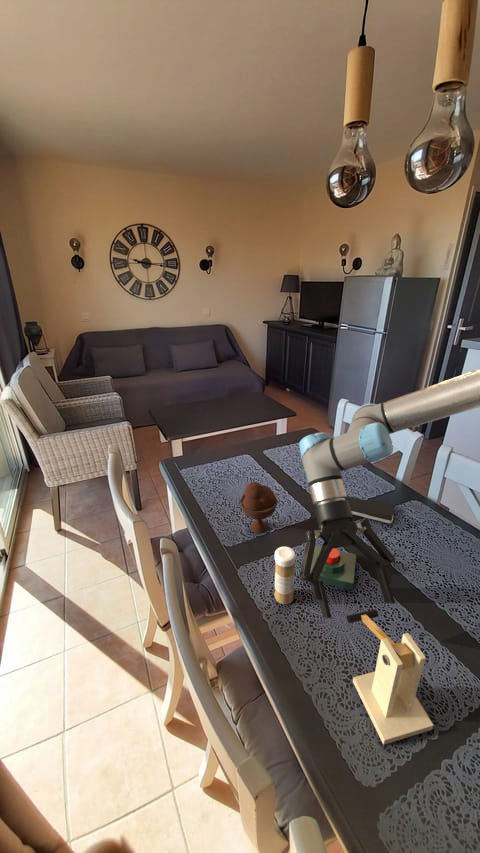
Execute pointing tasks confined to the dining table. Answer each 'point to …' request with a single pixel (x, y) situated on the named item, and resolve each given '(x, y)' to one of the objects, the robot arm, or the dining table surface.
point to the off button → (333, 556)
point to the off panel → (337, 570)
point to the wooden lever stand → (394, 693)
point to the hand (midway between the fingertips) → (359, 609)
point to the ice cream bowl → (258, 505)
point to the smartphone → (371, 509)
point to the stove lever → (383, 636)
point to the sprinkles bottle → (284, 574)
